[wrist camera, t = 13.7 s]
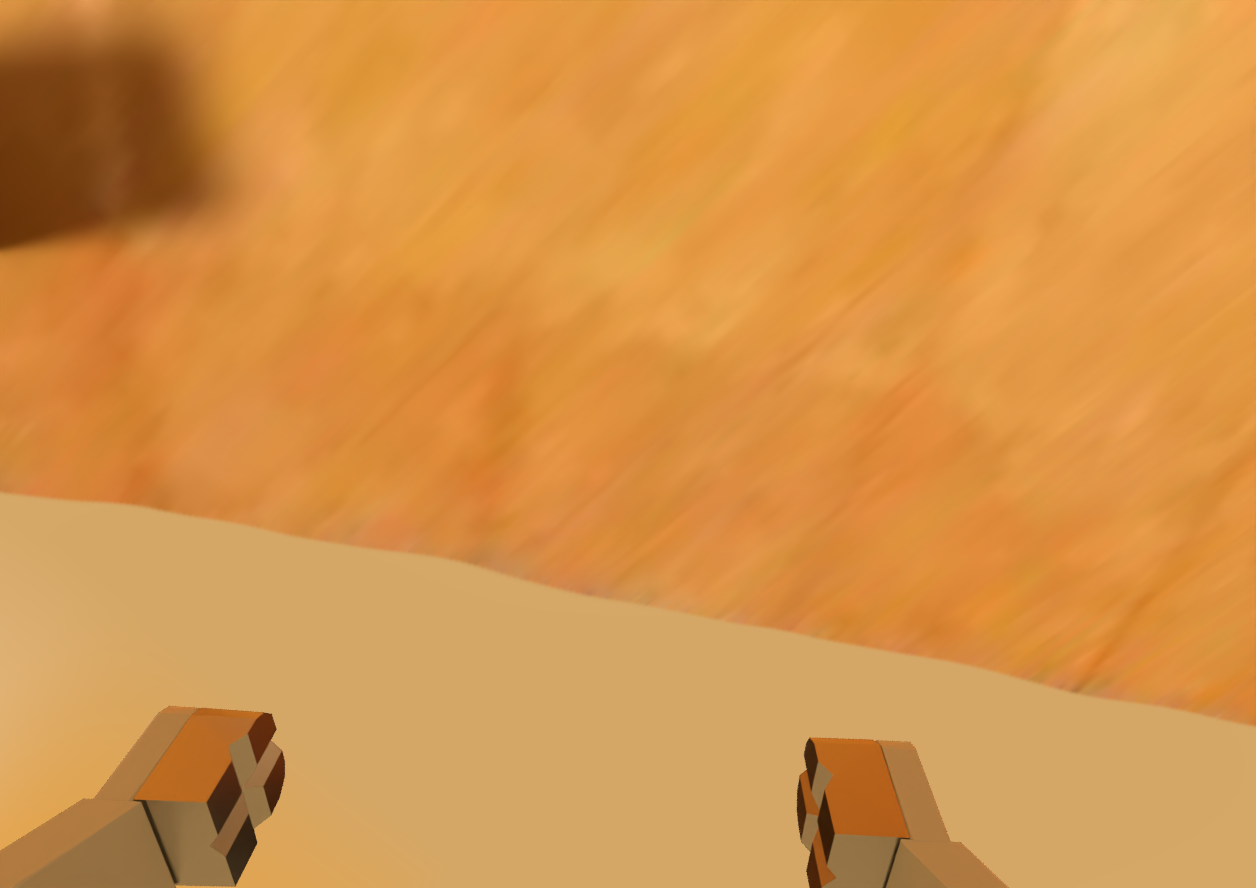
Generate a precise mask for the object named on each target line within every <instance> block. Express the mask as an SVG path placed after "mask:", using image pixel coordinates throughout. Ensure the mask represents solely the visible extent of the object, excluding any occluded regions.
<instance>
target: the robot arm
mask: <svg viewBox="0 0 1256 888" xmlns="http://www.w3.org/2000/svg"><path fill="white" fill-rule="evenodd" d="M275 731H276V726H275V723H274V720H273V717H272V714H269V713H264V712H251V711H237V710H223V709H210V708H192V707H176V706H168V707H167V708H165V709H164V710H162V711H161V712H159V713H158V714H157V715H156V716H155V718H154V719H153V721H152V722H151V723H150V725H149V726H148V727H147V728H146V730H145V731H144V733H143V734H142V735H141V737H140V738H139V739H138V740H137V742H136V743H135V745H134V746H133V747H132V749H131V750H130V751H129V752H128V754H127V755H126V756H125V758H124V759H123V761H122V762H121V763H120V765H119V766H118V767H117V768H116V770H115V771H114V773H113V774H112V775H111V776H110V778H109V779H108V780H107V782H106V783H105V784H104V786H103V787H102V788H101V790H100V791H99V793H98V794H97V795H96V796H95V798H94V799H82V800H81V801H79V802H77V803H76V804H74V805H73V806H71V807H69V808H68V809H67V810H65V811H63V812H61V813H60V814H58V815H57V816H55V817H53V818H52V819H50V820H49V821H47V822H46V823H44V824H42V825H41V826H39V827H37V828H36V829H34V830H33V831H31V832H29V833H28V834H26V835H25V836H23V837H21V838H20V839H18V840H17V841H15V842H13V843H12V844H10V845H9V846H7V847H5V848H4V849H2V850H1V851H0V888H176V886H175V885H188V886H189V885H190V886H236V884H237V882H238V880H239V878H240V876H241V874H242V872H243V870H244V868H245V867H246V864H247V863H248V861H249V859H250V857H251V855H252V853H253V851H254V849H255V847H256V845H257V840H256V835H255V831H254V828H255V827H257V826H258V825H259V824H260V823H262V822H263V821H264V820H266V819H267V818H268V817H270V816H271V815H272V813H273V810H274V808H275V806H276V804H277V802H278V800H279V798H280V794H281V790H282V786H283V782H284V778H285V760H284V756H283V752H282V750H281V749H280V748H279V747H278V746H277V745H276V744H274V743H273V742H272V741H271V739H272V737H273V735H274V733H275ZM804 758H805V763H806V768H807V770H806V771H805V772H803V773H802V774H801V775H800V776H799V783H798V789H797V816H798V826H799V832H800V838H801V842H802V843H803V844H804V845H805V847H806V848H807V849H808V850H809V851H810V856H809V861H808V865H807V871H806V872H807V876H808V882H809V887H810V888H1008V887H1007V886H1006V885H1005V884H1004V883H1003V882H1002V881H1001V880H1000V879H999V878H998V877H997V876H996V875H995V874H994V873H992V871H991V870H989V869H988V868H987V867H986V866H985V865H984V864H983V863H982V862H981V861H980V860H979V859H978V858H977V857H976V856H974V854H973V853H972V852H970V851H969V850H968V849H967V848H966V847H965V846H964V845H963V844H962V843H961V842H950V839H949V836H948V834H947V831H946V828H945V826H944V823H943V821H942V818H941V815H940V812H939V810H938V807H937V804H936V802H935V799H934V796H933V794H932V791H931V788H930V786H929V783H928V780H927V778H926V775H925V772H924V770H923V767H922V764H921V762H920V759H919V756H918V754H917V751H916V748H915V747H914V746H913V745H912V744H911V742H901V741H879V740H877V741H874V740H866V739H837V738H809V739H808V741H807V743H806V747H805V751H804Z"/></svg>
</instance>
